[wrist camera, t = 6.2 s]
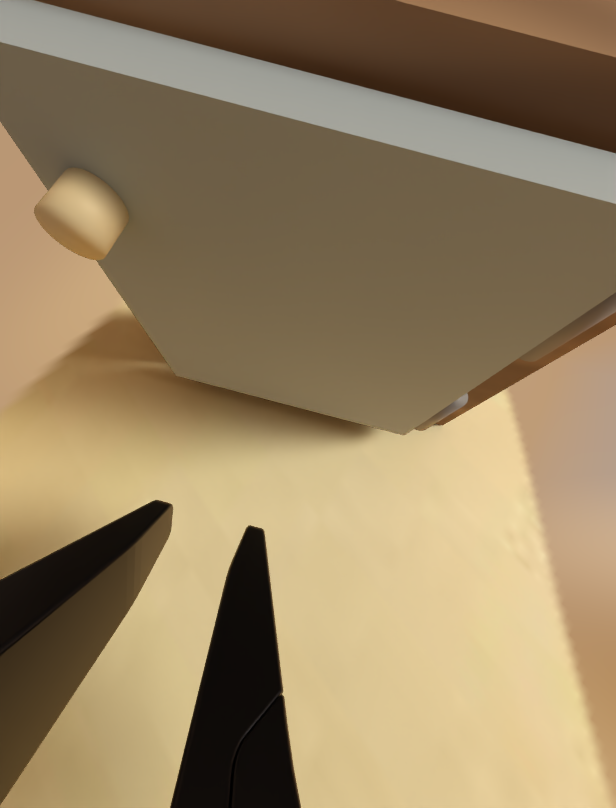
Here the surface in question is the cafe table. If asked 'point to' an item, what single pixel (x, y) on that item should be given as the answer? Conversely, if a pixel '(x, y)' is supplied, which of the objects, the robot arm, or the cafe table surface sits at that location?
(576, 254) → the cabinet door
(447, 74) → the cabinet frame
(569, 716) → the cafe table surface
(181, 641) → the cafe table surface
